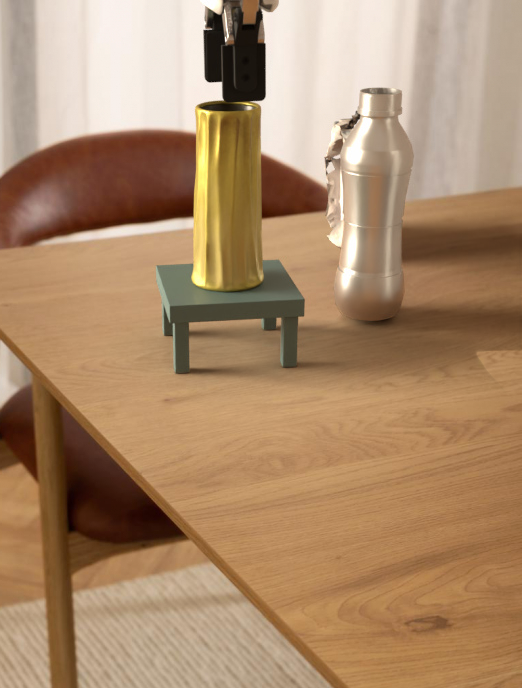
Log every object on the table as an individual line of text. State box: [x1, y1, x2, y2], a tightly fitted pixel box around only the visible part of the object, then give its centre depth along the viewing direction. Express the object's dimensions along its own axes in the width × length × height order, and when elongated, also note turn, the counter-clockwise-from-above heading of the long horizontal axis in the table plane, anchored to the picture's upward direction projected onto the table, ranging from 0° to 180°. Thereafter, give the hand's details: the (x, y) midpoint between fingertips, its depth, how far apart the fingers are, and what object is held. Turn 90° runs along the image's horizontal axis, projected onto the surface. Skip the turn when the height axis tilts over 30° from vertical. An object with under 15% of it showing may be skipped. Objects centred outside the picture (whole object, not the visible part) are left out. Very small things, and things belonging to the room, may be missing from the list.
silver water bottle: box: [333, 87, 415, 322], centre depth 104 cm, size 6×7×20 cm
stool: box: [155, 259, 306, 374], centre depth 101 cm, size 11×11×6 cm
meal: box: [323, 110, 361, 248], centre depth 127 cm, size 15×4×13 cm, turn 2°
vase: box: [191, 99, 264, 292], centre depth 96 cm, size 6×6×14 cm
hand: (233, 90), depth 92 cm, fingers open, 9 cm apart
